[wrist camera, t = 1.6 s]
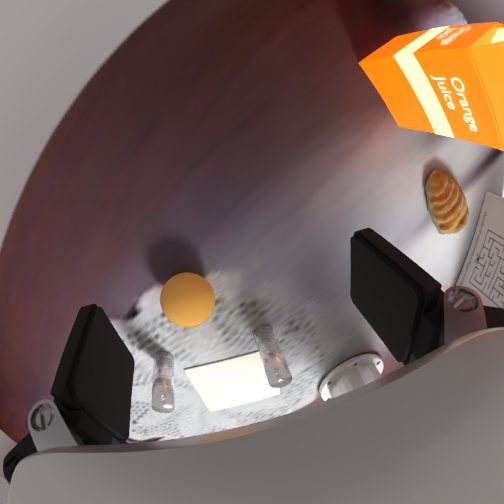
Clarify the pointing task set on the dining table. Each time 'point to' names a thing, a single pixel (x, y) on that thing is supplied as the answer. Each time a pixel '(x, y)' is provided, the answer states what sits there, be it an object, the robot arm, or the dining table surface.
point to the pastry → (446, 203)
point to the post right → (272, 357)
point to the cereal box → (487, 254)
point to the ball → (187, 299)
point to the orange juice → (445, 81)
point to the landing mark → (232, 382)
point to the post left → (163, 383)
